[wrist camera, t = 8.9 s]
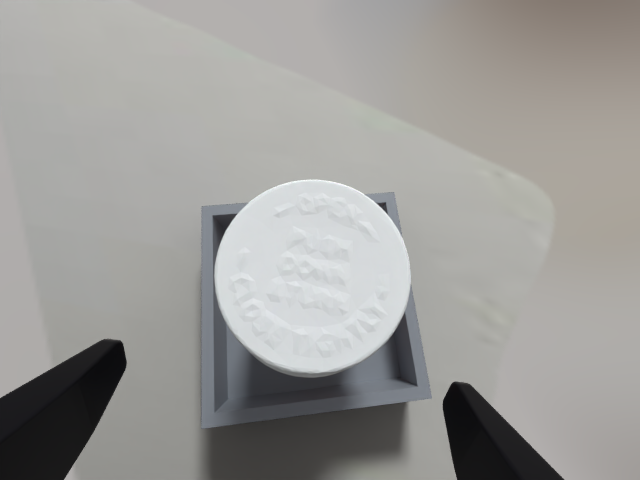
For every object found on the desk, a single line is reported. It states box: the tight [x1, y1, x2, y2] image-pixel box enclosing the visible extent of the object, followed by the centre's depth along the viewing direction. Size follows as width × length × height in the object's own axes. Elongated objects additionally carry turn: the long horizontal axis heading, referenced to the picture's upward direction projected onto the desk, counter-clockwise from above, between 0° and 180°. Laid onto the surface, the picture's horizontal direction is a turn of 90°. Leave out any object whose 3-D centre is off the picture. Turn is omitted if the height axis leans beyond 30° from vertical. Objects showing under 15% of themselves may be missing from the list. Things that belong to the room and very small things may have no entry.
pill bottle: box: [214, 180, 411, 378], centre depth 13 cm, size 6×6×11 cm
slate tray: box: [201, 192, 432, 429], centre depth 18 cm, size 11×11×4 cm
